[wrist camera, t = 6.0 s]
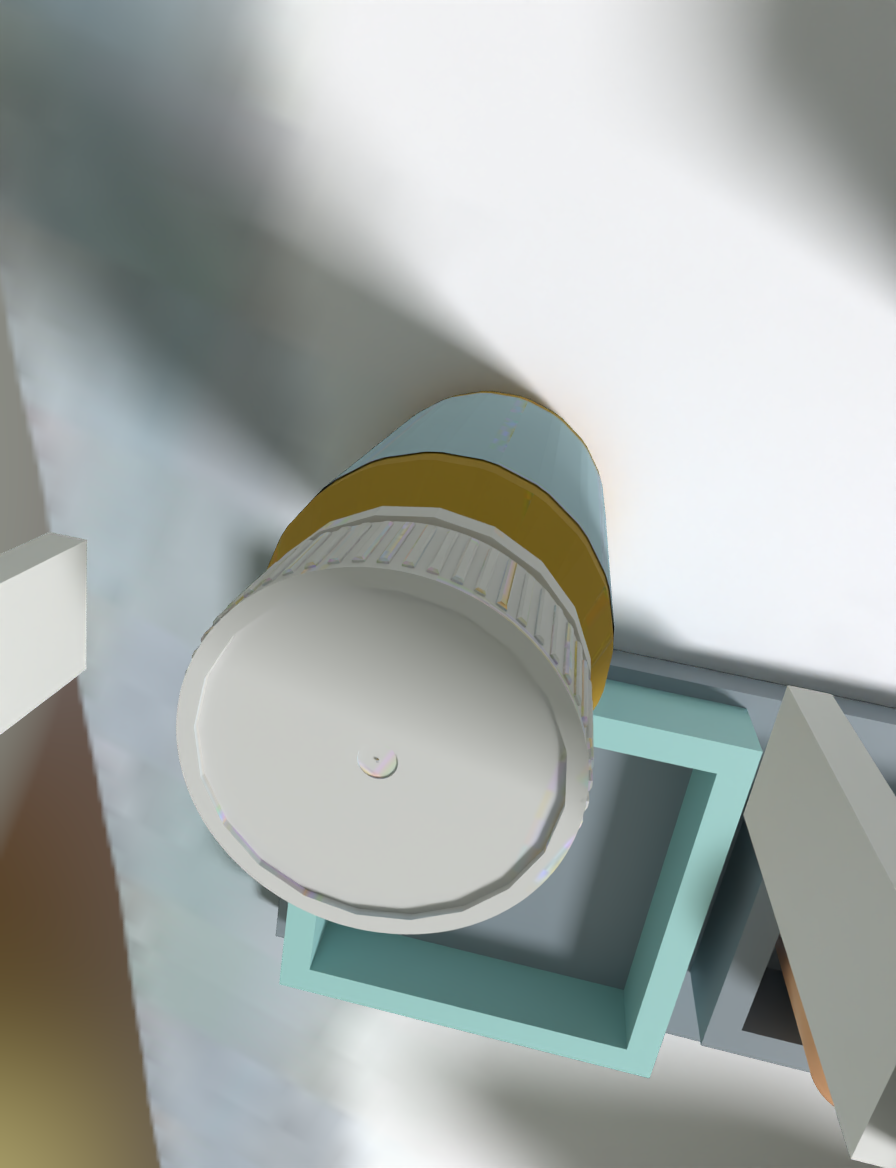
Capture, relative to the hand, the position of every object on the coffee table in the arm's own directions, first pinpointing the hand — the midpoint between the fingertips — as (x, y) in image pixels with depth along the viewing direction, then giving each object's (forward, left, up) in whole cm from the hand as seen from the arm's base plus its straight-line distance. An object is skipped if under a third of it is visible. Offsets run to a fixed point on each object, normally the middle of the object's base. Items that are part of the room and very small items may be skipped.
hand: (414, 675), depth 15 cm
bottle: (0, 0, -12) cm, 12 cm away
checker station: (+11, +7, -11) cm, 17 cm away
